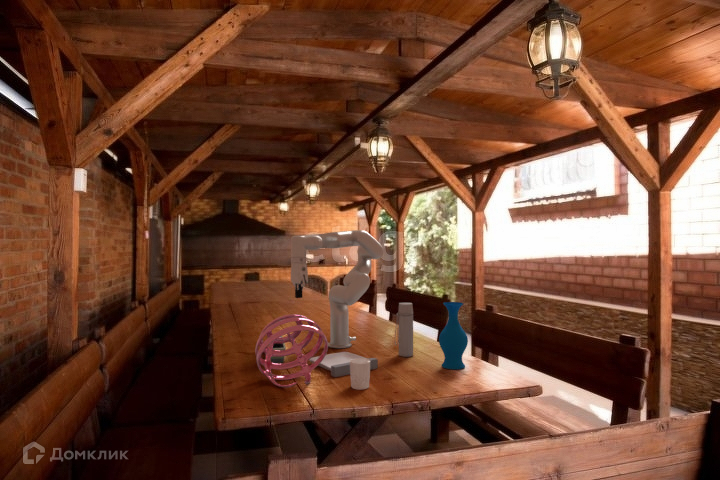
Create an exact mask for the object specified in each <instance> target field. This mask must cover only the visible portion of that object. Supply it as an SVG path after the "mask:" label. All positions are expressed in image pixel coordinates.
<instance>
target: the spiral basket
mask: <svg viewBox="0 0 720 480" xmlns="http://www.w3.org/2000/svg"><path fill="white" fill-rule="evenodd" d="M292 322H295V323H296V324H295V325H291V326H287V327H284V328H282V329H280V330H278V331H276V332H275V333H273V332H272V330H274V329H276V328H278V327H279V326H282V325H285V324H288V323H292ZM303 322H306V323H307V324H303ZM303 331H305V332H306V331H307V332H308V333H307V334H306V336H305V338H304V339H303V340H302V341H301V342H299V343H297V342H296V338H298V337H299V336H300V335H301V333H302V332H303ZM315 333H316V334H318V339H317V341H316V343H315V344H314V346H313V347H312V349H311V350H310V351H308V352H307V353H306V354H303V352H302V351H303V349H305V348H306V347H307V346H308V345H309V344H310V342H311V341H312V339H313V337H314V335H315ZM285 335H286V336H285ZM265 336H266V337H267V338H266V339H265V340H263V339H264V337H265ZM281 336H282V337H281ZM323 342H324V348H323V350H322V352H321V355H319V356H320V357H319V358H318V359H317V360H316V361H315V362H314V363H311V364H310V365H309V364H308V361H309V359H310V358H312V357H315V355H316V354H317V352H319V350H320V348H321V346H322V344H323ZM275 343H279V344H280V343H285V344H286V343H291V345H292V346H291V347H290V348H287V349H286V350H273V345H274V344H275ZM328 343H329V342H328V339H327V336H326V334H325V333H324V332H323V330H322V328H321V326H320V325H319V324H318V323H317V322H316V321H314V320H313V319H310V318H308V317H306V316H305V315H301V314H294V313H293V314H292V313H290V314H283V315H282V316H278V317H276V318H275V319H273V320H271V321H270V322H269V323H268V324H266V325H265V326H264V328H263V329H262V331H261V332H260V334H259V337H258V339H257V342H256V344H255V351H254V352H255V356H256V364H257V368H258V369H259V371H260V372H261V374H262V375H263V376H264V377H266V378H267V379H268V380H269V381H270V382H271V383H272V384H273V385H274V386H277V387H279V388H282V389H283V388H284V389H286V388H287V389H288V388H292V387H293V386H295V385H297V382H293V383H289V384H280V383H278V382H277V381H287V380H293V379H297V378H300V377H304V379H305V380H304V384H305V385H307V386H308V385H309V384H310V383H311V382H312V377H311V372H312V371H313V370H314V369H315V368H317V367H319V366H318V365H319V364H320V363H321V362H322V360H323V359H324V357H325V355H327V352H328V348H329V347H328ZM269 344H270V345H269ZM263 353H264V354H265V359H263V358H262V354H263ZM291 355H296V359H295V360H292V361H288V362H283V363H272V361H271V357H272V356H274V357H283V356H285V357H288V356H291ZM261 365H262V366H263V367H264V369H265V370H264V369H263V368H262V366H261ZM299 366H300V368H301V369H300V370H299V371H297V372H293V373H289V374H274V373H272V370H287V369H292V368H295V367H299Z"/></svg>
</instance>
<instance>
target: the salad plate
mask: <svg viewBox="0 0 720 480" xmlns="http://www.w3.org/2000/svg"><path fill="white" fill-rule="evenodd" d="M320 356H321V355H319V356H313V357H312V358H310V359H309V360H308V361H309V362H310V363H311V364H313V363H314V362H315V361H316V360H317V359H318V358H319V357H320ZM355 358H365V359H369V358H367V357H365V356H361V355H359V354H355V353H352V352H348V351H341V352H335V353H329V354H327V353H326V355H325V357H324V359H323V360H322V362H321V363H320V364H319V365H318V366H317V367H321V368H323V369H325V370H328V371H330V372H331V366H333V365H338V364H343V363H348V362H350V360H351V359H355Z"/></svg>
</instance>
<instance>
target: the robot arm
mask: <svg viewBox="0 0 720 480" xmlns="http://www.w3.org/2000/svg"><path fill="white" fill-rule="evenodd" d="M349 247H350V248H351V247H358V249H357V258H358V259H357V262H356V263H355V265H354V267H352V268H351V269H350V270H349V271H348V272H347V274H346V275H345V276H344V277H343V281H342V283H343V285H338V284H337V285H333V286H332V287H331V288H330V289H329V291H328V301H329V311H330V315H329V316H330V317H329V318H330V328H329V329H330V333H329V334H330V336H329V337H330V341H329V342H328V348H331V349H332V348H333V349H346V348H350V347H352V345H353V344H352V343H351V342H352V341H357V337H356V336H352V337H351V336H350V335H349V327H350V326H349V324H350V323H349V321H350V320H349V307H348V306H353V305H354V304H356V302H357V301H359V300H360V298H361V297H362V296H363V295H364V294H365V293H366V292H367V290H368V289H369V287H370V284H371V278H370V276H369V274H370V273H371V271H372V260H379V259H381V258H382V257H383V255H384V247H383V245H382V244H381V243H380V242H379V241H378V240H377V239H376V238H374V237H373V236H372V234H370V233H369V232H368V231H366V230H364V229H363V230H362V229H361V230H359V229H357V230H356V229H355V230H353V229H352V230H344V231H334V232H333V231H331V232H325V233H317V234H316V233H315V234H314V233H313V234H305V235H292V236H291V238H290V265H291V266H290V282H291V283H292V285H293V287H294V298H296V299H301V298H303V290H304V287H306V285H307V284H308V283H309V275H308V274H309V273H308V272H309V271H308V265H307V251H317V250H320V249H340V248H341V249H342V248H349Z"/></svg>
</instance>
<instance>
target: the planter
mask: <svg viewBox="0 0 720 480" xmlns="http://www.w3.org/2000/svg"><path fill="white" fill-rule="evenodd" d="M281 337H283V336H281ZM269 345H270V344H269ZM269 345H268V346H269ZM286 348H287V347H286V343H280V344H279V343H275V344H274V345H273V350H286ZM285 357H286V356H283V357H274V356H272V357H271V358H270V361H271V362H272V363H276V364H281V363H285V362H284V361H285Z"/></svg>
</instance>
